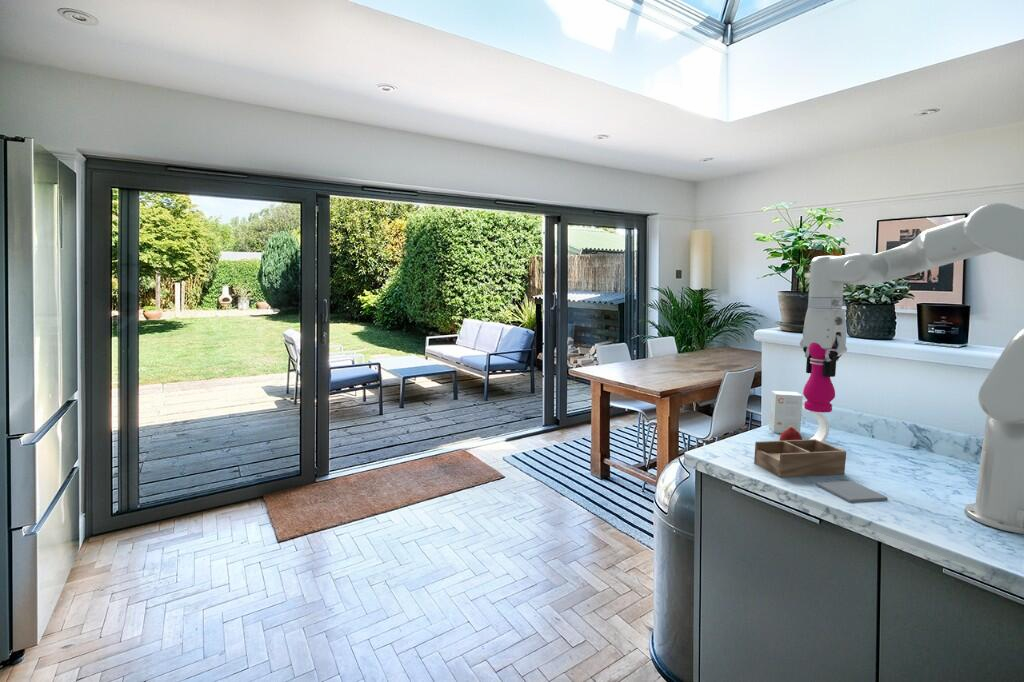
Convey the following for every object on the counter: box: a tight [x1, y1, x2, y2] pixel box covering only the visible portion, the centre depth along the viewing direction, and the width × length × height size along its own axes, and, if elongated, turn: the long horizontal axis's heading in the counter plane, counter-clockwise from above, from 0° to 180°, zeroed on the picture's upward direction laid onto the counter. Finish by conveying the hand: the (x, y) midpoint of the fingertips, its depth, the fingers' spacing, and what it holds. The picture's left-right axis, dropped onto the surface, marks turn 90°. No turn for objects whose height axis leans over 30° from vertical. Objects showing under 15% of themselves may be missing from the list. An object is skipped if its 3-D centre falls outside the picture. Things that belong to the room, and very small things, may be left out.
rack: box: [753, 438, 847, 478], centre depth 137 cm, size 11×18×6 cm, turn 100°
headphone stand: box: [802, 405, 830, 443], centre depth 156 cm, size 5×6×12 cm
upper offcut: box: [767, 453, 780, 460], centre depth 136 cm, size 7×5×2 cm
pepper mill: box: [802, 343, 836, 413], centre depth 135 cm, size 7×7×20 cm
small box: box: [768, 390, 804, 435], centre depth 172 cm, size 8×6×13 cm
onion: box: [779, 425, 803, 441], centre depth 150 cm, size 6×6×8 cm
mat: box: [815, 480, 889, 503], centre depth 122 cm, size 10×10×1 cm
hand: (820, 374), depth 135 cm, fingers closed on pepper mill, 5 cm apart
